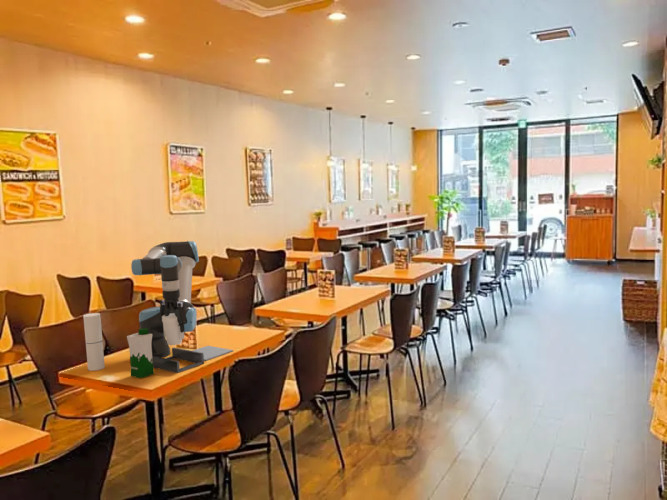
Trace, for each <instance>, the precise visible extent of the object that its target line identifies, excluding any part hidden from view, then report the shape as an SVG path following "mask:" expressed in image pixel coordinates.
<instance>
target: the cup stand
mask: <svg viewBox="0 0 667 500" xmlns="http://www.w3.org/2000/svg"><path fill="white" fill-rule="evenodd" d="M171 354H172V355H171V356H166V357H162V358H161V357H156V356H152V359H153V368H154V369H157V370H163V371H167V372H171V373H176V374H179V373H182V372H184V371H188V370H190V369H193V368H196V367H198V366H200V365H204V364H205V361H204V355H203V353H201V352H195V351H193V350H189V349H185V348H178V347H171ZM180 361H185V362H190V363H192V364H188V365H186V366H182V367H180Z"/></svg>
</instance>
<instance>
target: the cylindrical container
mask: <svg viewBox="0 0 667 500" xmlns="http://www.w3.org/2000/svg"><path fill="white" fill-rule="evenodd" d="M82 317H83V327H84V340H85V350H86V361H87V370H88V371H90V372H91V371H100V370H103V369H105V367H106V366H105V354H104V343H103V333H102V329H103V328H102V320H101V313H99V312H95V313H94V312H93V313H87V314H83V316H82Z"/></svg>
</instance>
